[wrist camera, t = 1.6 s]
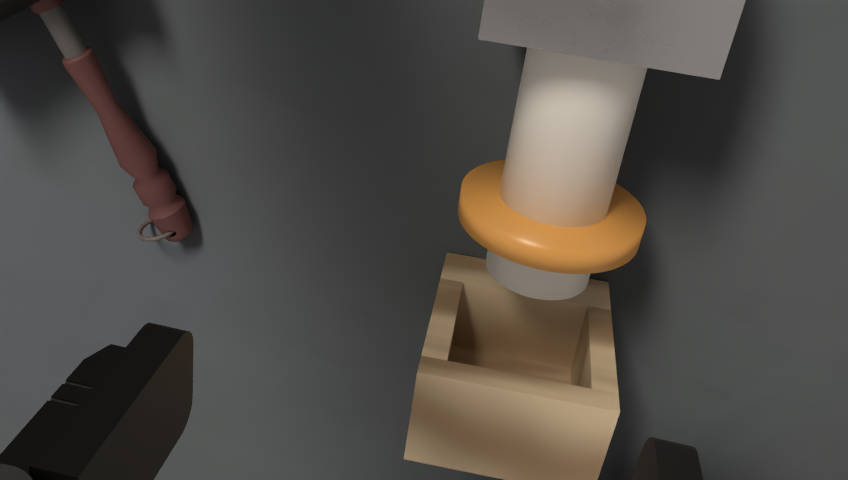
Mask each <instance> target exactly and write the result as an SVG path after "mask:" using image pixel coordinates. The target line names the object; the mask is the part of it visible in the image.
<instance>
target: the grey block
mask: <svg viewBox="0 0 848 480" xmlns="http://www.w3.org/2000/svg"><path fill="white" fill-rule="evenodd" d="M745 1H746V0H484V5H483V12H482V18H481V24H480V30H479V36H478V39H479V40H485V41H491V42H497V43H503V44H509V45H515V46H521V47H527V48H533V49H538V50H544V51H550V52H556V53H562V54H568V55H574V56H580V57H586V58H592V59H598V60H604V61H610V62H616V63H622V64H628V65H634V66H640V67H646V68H652V69H658V70H664V71H670V72H676V73H681V74H687V75H693V76H699V77H705V78H711V79H717V80H720V78H721V75H722V71H723V68H724V65H725V62H726V59H727V56H728V53H729V50H730V47H731V44H732V41H733V38H734V35H735V32H736V29H737V26H738V23H739V20H740V16H741V13H742V10H743V7H744V4H745Z"/></svg>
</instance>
